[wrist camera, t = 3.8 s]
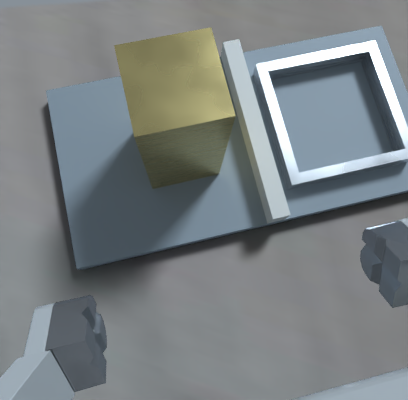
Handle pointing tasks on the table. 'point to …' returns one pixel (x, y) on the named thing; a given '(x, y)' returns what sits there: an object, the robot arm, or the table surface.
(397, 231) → the robot arm
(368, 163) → the frame
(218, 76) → the block
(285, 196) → the plate
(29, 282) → the table surface
